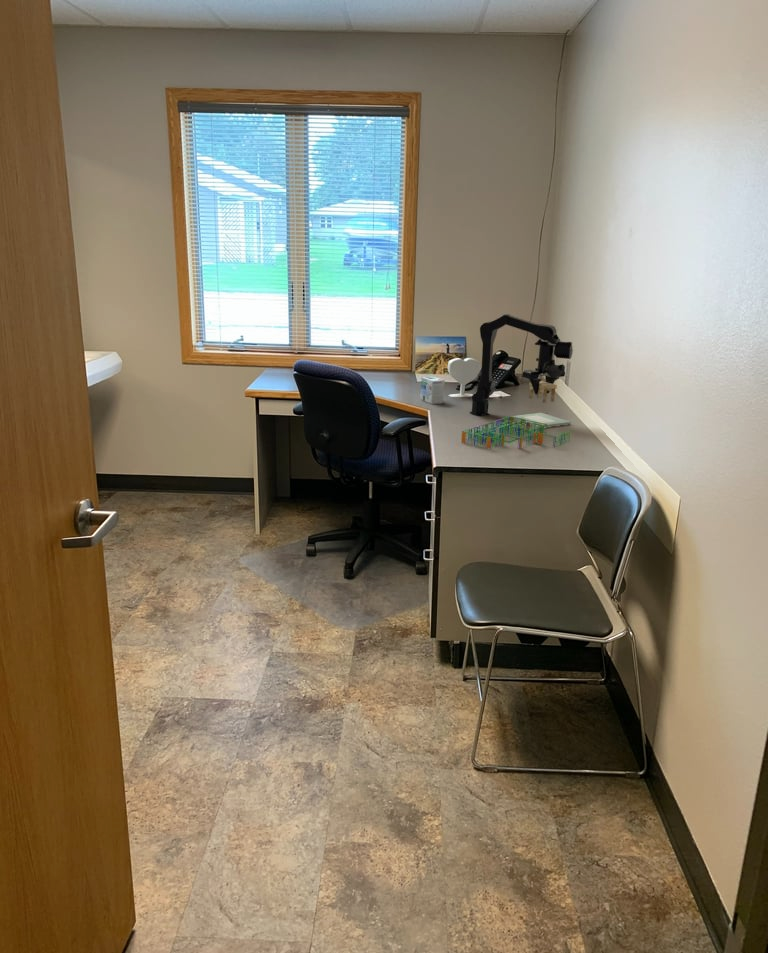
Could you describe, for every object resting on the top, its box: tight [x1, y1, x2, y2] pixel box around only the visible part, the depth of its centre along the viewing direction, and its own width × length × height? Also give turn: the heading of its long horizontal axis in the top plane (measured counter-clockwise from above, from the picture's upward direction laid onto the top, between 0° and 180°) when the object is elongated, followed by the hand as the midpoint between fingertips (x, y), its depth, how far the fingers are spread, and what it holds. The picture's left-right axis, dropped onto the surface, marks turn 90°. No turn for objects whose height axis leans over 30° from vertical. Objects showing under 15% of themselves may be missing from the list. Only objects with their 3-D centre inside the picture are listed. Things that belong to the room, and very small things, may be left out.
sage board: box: [508, 412, 571, 428], centre depth 317 cm, size 18×18×1 cm
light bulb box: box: [419, 375, 445, 405], centre depth 348 cm, size 11×7×11 cm, turn 27°
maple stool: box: [528, 380, 558, 403], centre depth 313 cm, size 10×6×7 cm, turn 30°
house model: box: [460, 415, 572, 450], centre depth 286 cm, size 35×30×5 cm
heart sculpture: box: [447, 357, 481, 398], centre depth 361 cm, size 16×5×18 cm, turn 105°
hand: (541, 393), depth 313 cm, fingers closed on maple stool, 6 cm apart
